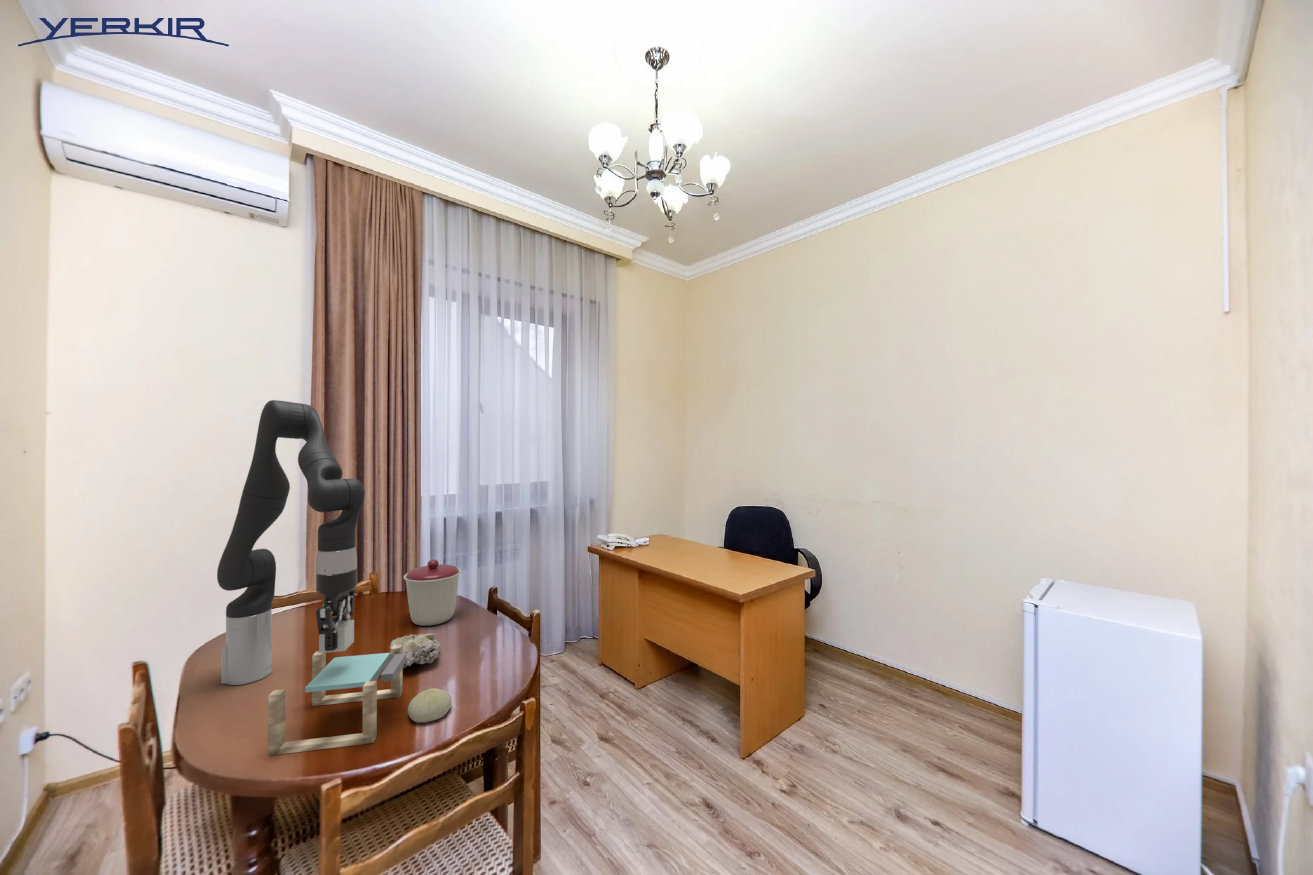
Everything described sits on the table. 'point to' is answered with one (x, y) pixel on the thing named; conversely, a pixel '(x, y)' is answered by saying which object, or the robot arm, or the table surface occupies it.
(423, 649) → the geode
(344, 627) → the grey cube
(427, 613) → the canister
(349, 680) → the trapdoor
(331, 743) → the frame
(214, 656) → the table surface
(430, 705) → the sea urchin shell
